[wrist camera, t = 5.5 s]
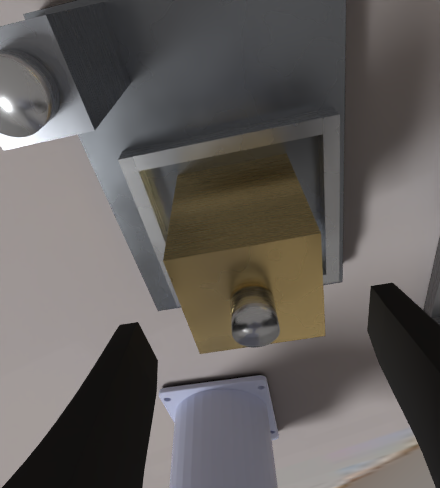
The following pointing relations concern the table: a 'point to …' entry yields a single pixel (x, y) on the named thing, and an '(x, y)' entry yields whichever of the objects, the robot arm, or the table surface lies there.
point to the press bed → (183, 102)
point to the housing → (245, 256)
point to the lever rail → (434, 290)
